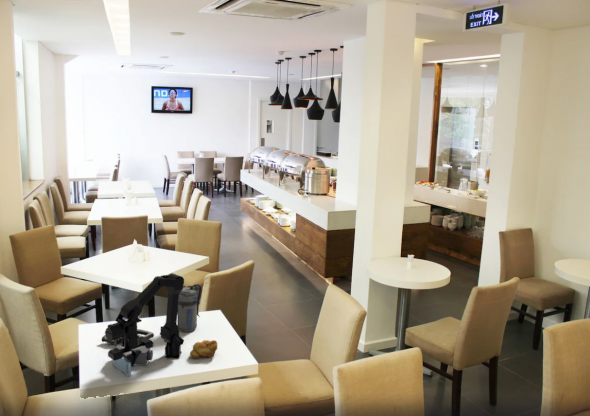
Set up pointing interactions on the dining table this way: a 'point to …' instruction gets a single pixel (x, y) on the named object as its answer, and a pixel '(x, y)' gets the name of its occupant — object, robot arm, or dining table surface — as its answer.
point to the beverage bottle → (188, 307)
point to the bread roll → (204, 349)
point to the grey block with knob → (141, 355)
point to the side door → (123, 365)
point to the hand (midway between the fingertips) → (131, 366)
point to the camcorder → (139, 331)
